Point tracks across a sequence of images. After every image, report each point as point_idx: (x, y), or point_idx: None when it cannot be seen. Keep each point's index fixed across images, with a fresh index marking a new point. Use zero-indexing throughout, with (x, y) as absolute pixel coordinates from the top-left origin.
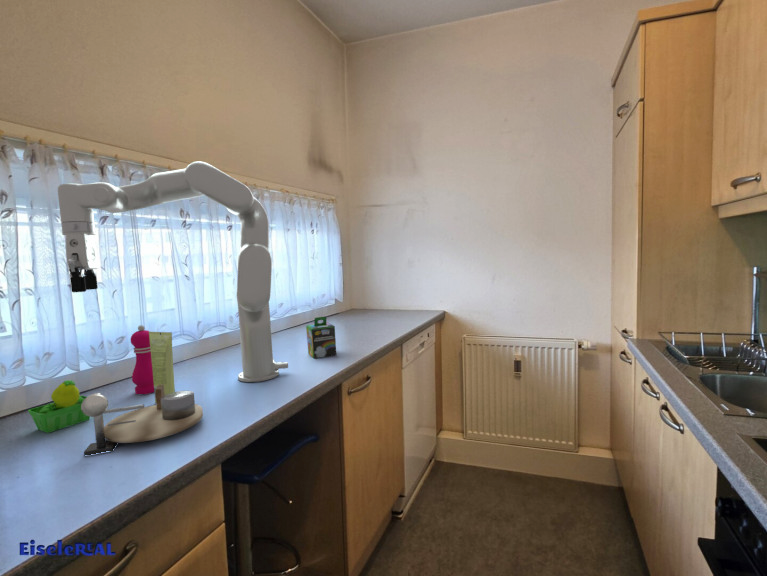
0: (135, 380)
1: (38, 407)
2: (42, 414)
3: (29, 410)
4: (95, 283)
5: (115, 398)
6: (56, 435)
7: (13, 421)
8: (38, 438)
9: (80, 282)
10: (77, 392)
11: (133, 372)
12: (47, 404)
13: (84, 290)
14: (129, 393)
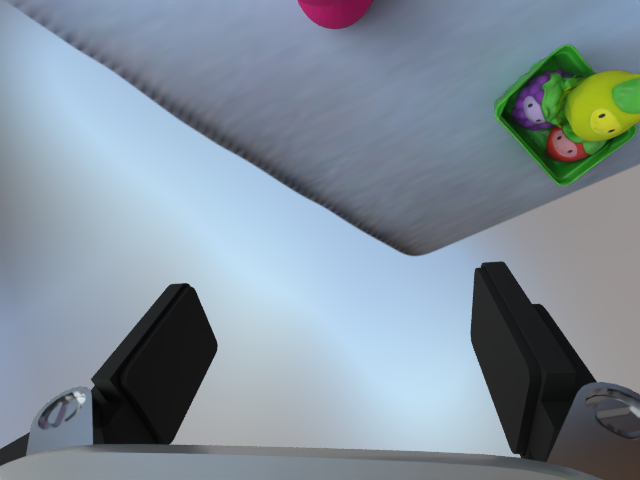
0: (372, 1)
1: (549, 173)
2: (636, 131)
3: (572, 181)
4: (171, 317)
5: (376, 69)
6: None
7: (455, 233)
8: None
9: (561, 345)
10: (622, 71)
11: (355, 11)
12: (538, 162)
13: (502, 270)
14: (341, 45)
